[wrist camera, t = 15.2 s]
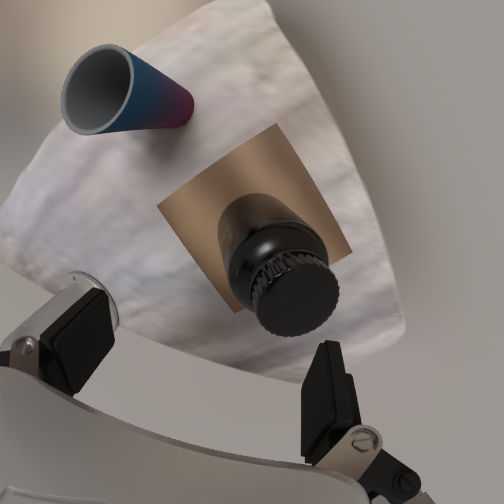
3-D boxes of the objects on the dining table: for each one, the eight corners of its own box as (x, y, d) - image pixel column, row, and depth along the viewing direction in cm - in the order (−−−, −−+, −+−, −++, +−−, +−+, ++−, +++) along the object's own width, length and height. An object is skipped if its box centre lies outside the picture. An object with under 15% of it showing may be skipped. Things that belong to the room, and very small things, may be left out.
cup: (211, 117, 28) (148, 96, 14) (161, 145, 30) (76, 154, 16) (187, 69, 26) (116, 26, 12) (139, 100, 28) (52, 85, 14)
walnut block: (242, 287, 36) (234, 313, 30) (178, 194, 32) (156, 205, 27) (342, 233, 31) (352, 252, 26) (278, 127, 28) (276, 123, 22)
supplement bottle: (256, 275, 27) (293, 365, 16) (201, 233, 24) (205, 318, 14) (305, 223, 26) (375, 290, 15) (253, 174, 23) (302, 216, 12)
